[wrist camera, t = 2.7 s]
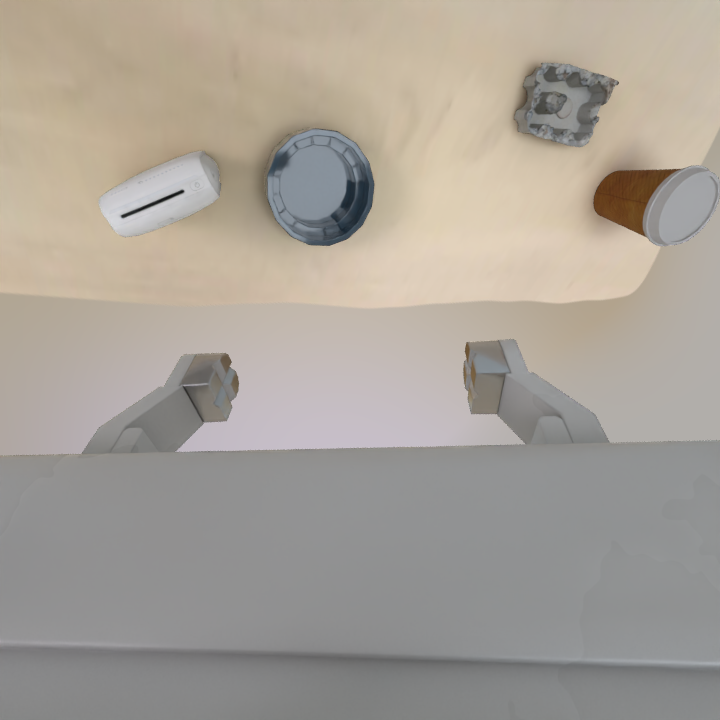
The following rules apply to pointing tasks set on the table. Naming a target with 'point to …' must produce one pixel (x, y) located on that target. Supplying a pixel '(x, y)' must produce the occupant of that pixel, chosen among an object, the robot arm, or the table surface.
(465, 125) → the table surface
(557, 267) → the table surface
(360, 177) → the bowl
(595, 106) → the grey packaging insert
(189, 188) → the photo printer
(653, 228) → the disposable coffee cup
